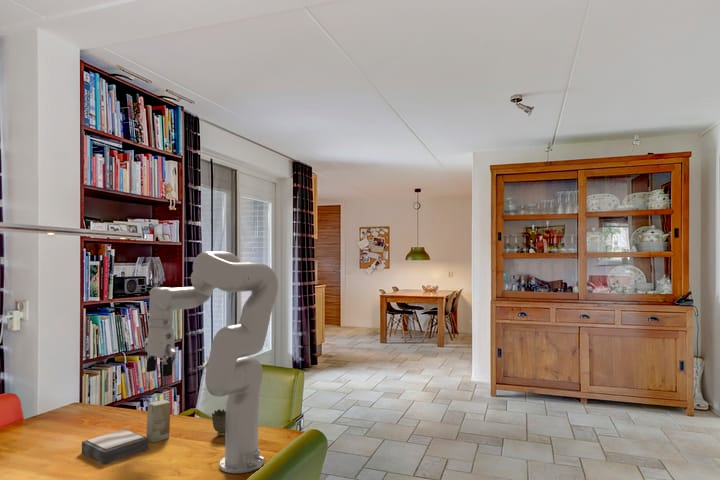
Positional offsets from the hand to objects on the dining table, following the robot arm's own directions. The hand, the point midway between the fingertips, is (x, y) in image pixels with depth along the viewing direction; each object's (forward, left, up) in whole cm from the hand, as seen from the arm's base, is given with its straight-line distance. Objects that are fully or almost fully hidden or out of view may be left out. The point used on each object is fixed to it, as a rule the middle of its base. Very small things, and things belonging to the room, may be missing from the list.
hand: (159, 373), depth 162 cm
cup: (-15, -15, -22) cm, 31 cm away
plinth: (+1, +14, -22) cm, 26 cm away
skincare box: (0, 0, -22) cm, 22 cm away
